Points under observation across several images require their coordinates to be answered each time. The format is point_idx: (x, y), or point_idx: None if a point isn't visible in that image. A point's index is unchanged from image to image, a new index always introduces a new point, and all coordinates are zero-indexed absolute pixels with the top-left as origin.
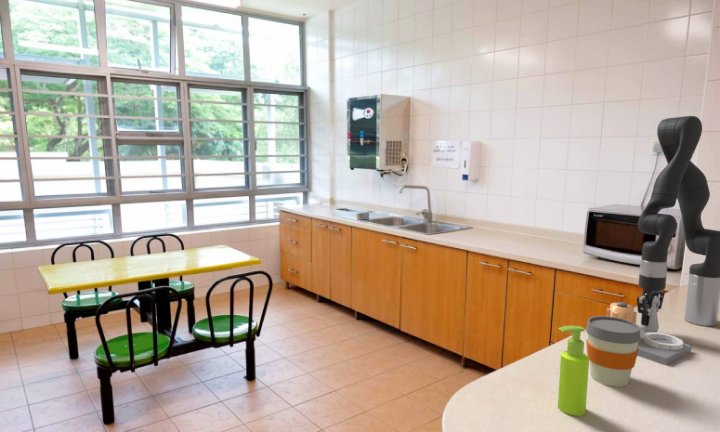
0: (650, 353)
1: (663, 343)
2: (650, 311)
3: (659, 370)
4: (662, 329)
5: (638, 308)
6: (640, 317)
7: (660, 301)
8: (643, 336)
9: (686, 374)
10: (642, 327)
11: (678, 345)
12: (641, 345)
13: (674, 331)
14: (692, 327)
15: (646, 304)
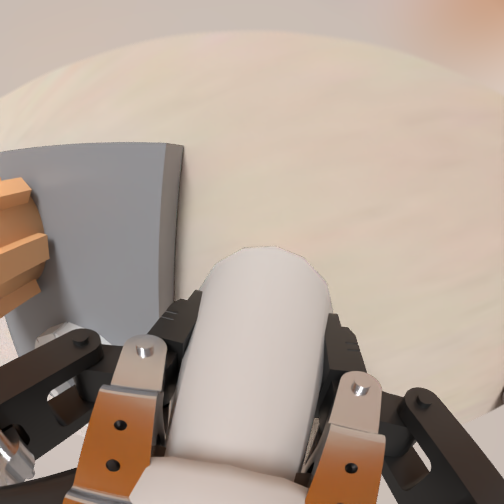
0: (16, 348)
1: (55, 392)
2: (166, 425)
3: (15, 357)
4: (398, 326)
5: (38, 356)
6: (228, 289)
7: (401, 500)
8: (89, 318)
9: (47, 400)
10: (199, 290)
11: (85, 425)
12: (25, 323)
13: (399, 368)
14: (480, 382)
15: (37, 449)
